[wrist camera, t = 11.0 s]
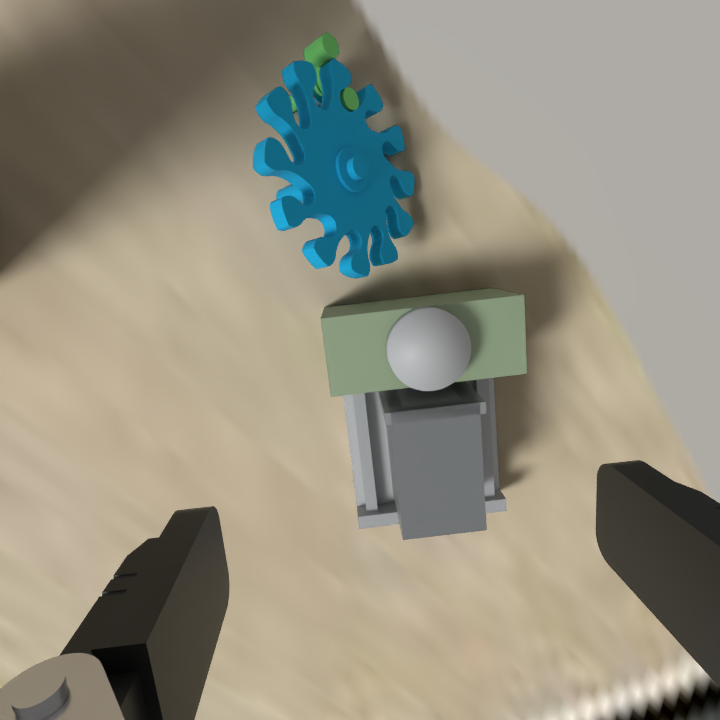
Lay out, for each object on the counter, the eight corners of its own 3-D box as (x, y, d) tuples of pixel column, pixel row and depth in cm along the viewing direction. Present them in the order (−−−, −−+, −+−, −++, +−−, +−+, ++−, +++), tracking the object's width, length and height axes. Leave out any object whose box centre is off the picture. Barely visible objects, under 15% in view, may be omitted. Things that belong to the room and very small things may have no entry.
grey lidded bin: (377, 386, 28) (384, 413, 23) (460, 376, 28) (485, 401, 23) (388, 493, 30) (397, 540, 25) (467, 484, 30) (492, 529, 25)
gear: (432, 274, 26) (287, 274, 19) (355, 287, 30) (212, 291, 23) (413, 65, 25) (254, -17, 18) (337, 108, 29) (182, 54, 22)
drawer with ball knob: (350, 510, 31) (352, 570, 25) (324, 307, 28) (319, 321, 22) (502, 492, 31) (540, 547, 25) (492, 287, 28) (532, 296, 22)
